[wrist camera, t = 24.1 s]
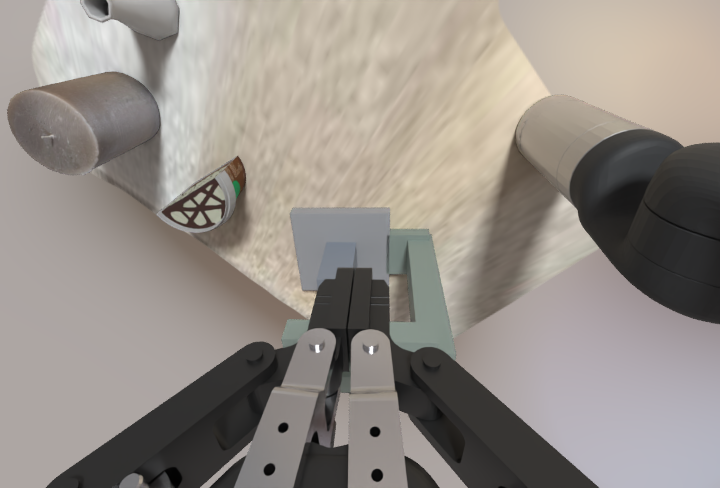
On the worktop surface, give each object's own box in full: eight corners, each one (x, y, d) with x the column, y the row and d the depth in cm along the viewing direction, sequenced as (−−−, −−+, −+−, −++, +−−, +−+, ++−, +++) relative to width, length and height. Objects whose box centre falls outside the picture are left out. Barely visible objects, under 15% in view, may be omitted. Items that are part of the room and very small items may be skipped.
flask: (113, -31, 42) (44, -44, 33) (171, -30, 41) (117, -43, 33) (133, 39, 46) (76, 44, 37) (187, 41, 45) (141, 45, 37)
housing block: (356, 242, 58) (350, 283, 49) (357, 266, 61) (352, 309, 52) (326, 242, 58) (315, 283, 49) (329, 266, 61) (319, 309, 52)
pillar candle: (79, 97, 50) (-23, 125, 37) (120, 55, 47) (23, 71, 34) (135, 153, 54) (60, 195, 42) (176, 119, 51) (108, 153, 38)
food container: (213, 216, 59) (185, 248, 51) (187, 187, 57) (153, 216, 48) (269, 184, 55) (249, 213, 47) (245, 150, 53) (218, 175, 44)
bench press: (433, 207, 56) (461, 320, 35) (426, 285, 64) (446, 412, 43) (292, 207, 57) (238, 315, 36) (304, 283, 66) (266, 405, 45)
